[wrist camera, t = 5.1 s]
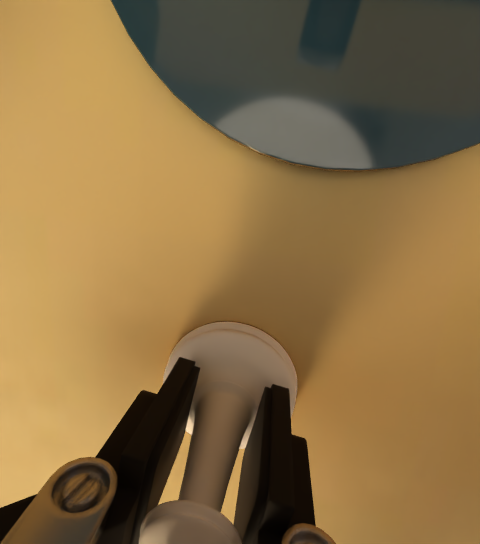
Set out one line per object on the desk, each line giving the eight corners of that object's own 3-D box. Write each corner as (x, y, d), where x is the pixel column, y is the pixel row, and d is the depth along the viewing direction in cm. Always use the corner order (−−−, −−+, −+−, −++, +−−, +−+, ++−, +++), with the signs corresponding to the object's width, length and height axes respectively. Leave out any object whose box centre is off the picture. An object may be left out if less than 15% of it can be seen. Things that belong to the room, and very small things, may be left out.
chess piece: (324, 369, 11) (604, 1482, 2) (250, 458, 13) (155, 1335, 3) (207, 295, 11) (-290, 1038, 1) (145, 393, 12) (-324, 1105, 3)
